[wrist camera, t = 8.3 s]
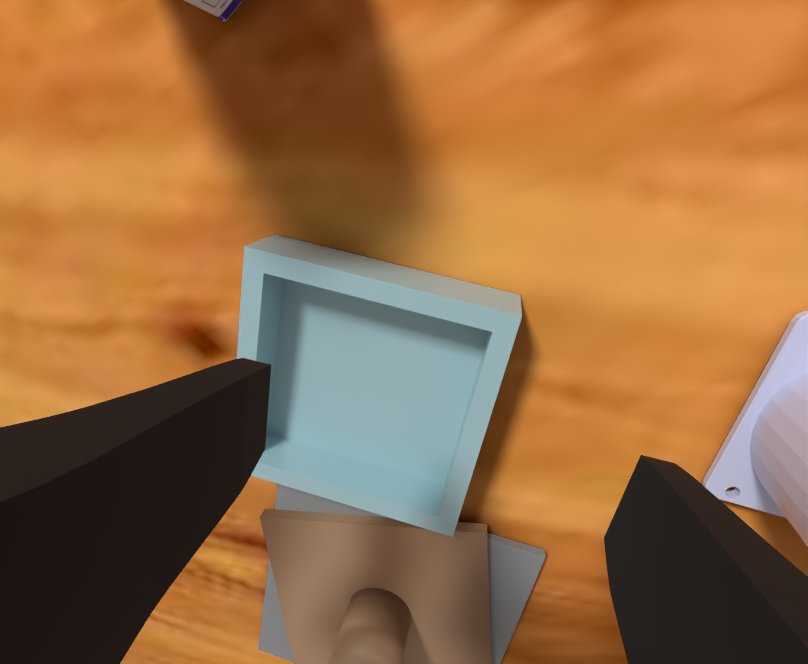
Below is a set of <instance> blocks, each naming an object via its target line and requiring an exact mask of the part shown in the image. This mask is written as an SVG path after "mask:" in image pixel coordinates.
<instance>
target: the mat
mask: <svg viewBox="0 0 808 664" xmlns="http://www.w3.org/2000/svg"><path fill="white" fill-rule="evenodd" d="M275 509H278V510H292V511H307V512H321V513H336V514H351V515H365V516H380V517H385V516H382V515H379V514H376V513H372V512H369V511H366V510H362V509H359V508H356V507H353V506H349V505H346V504H343V503H340V502H336V501H333V500H330V499H326V498H323V497H320V496H317V495H313V494H310V493H307V492H304V491H300V490H297V489H294V488H290V487H287V486H284V485H281V484H278V487H277V496H276V504H275ZM487 533H488V532H487ZM545 558H546V552H545V550H544V549H541V548H537V547H534V546H531V545H527V544H524V543H521V542H517V541H514V540H511V539H507V538H504V537H501V536H498V535H494V534H491V533H488V559H489V586H490V613H491V639H492V664H501V661H502V659H503V657H504V654H505V652H506V649H507V647H508V645H509V642H510V640H511V638H512V635H513V633H514V631H515V628H516V626H517V624H518V621H519V619H520V617H521V614H522V612H523V609H524V607H525V605H526V602H527V600H528V598H529V595H530V593H531V591H532V588H533V586H534V584H535V581H536V579H537V577H538V574H539V572H540V569H541V567H542V565H543V562H544V560H545ZM258 650H261V651H264V652H267V653H270V654H273V655H275V656H278V657H281V658H284V659H287V660H290V661H293V662H294V660H293V655H292V651H291V647H290V643H289V638H288V634H287V630H286V626H285V621H284V617H283V613H282V609H281V604H280V600H279V596H278V592H277V587H276V583H275V579H274V575H273V571H272V566H271V562H270V558H269V563H268V572H267V580H266V588H265V597H264V605H263V614H262V622H261V630H260V639H259V647H258Z"/></svg>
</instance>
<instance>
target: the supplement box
mask: <svg viewBox="0 0 808 664" xmlns="http://www.w3.org/2000/svg"><path fill="white" fill-rule="evenodd" d="M184 1H186V2H188V3H190V4H192V5H194V6H196V7H198V8H200V9H202V10H204V11H206V12H208V13H210V14H212V15H214V16H216V17H218V18H219V19H221V20H222V21H224V22H225V21H227V20H228V19H229V17H230V16H231V15H232V14H233V13H234V12H235V10H236V9H237V8H238V6H239V5H240V4H241V3H242V1H243V0H184Z"/></svg>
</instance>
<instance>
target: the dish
mask: <svg viewBox="0 0 808 664" xmlns="http://www.w3.org/2000/svg"><path fill="white" fill-rule="evenodd" d="M521 319H522V308H521V296H520V295H518V294H514V293H510V292H506V291H502V290H498V289H494V288H490V287H486V286H482V285H478V284H474V283H470V282H466V281H462V280H458V279H454V278H450V277H446V276H442V275H438V274H434V273H430V272H426V271H422V270H418V269H413V268H409V267H405V266H401V265H397V264H393V263H389V262H385V261H381V260H377V259H373V258H369V257H365V256H361V255H357V254H353V253H349V252H345V251H341V250H337V249H333V248H329V247H325V246H321V245H317V244H313V243H309V242H305V241H300V240H296V239H292V238H288V237H284V236H280V235H276V234H274V235H272V236H269V237H267V238H264V239H262V240H259V241H257V242H254V243H252V244H249V245H247V246H244V260H243V275H242V289H241V304H240V319H239V333H238V348H237V359H239V358H246V359H250V360H254V361H258V362H262V363H267V364H271V377H270V391H269V404H268V418H267V431H266V445H265V450H264V452H263V454H262V456H261V458H260V459H259V461H258V463H257V465H256V467H255V469H254V470H253V472H252V474H251V476H254V477H258V478H261V479H264V480H268V481H271V482H274V483H277V484H281V485H284V486H287V487H290V488H294V489H297V490H300V491H304V492H307V493H310V494H313V495H317V496H320V497H323V498H326V499H330V500H333V501H336V502H340V503H343V504H346V505H349V506H353V507H356V508H359V509H362V510H366V511H369V512H372V513H376V514H379V515H382V516H385V517H389V518H392V519H395V520H399V521H402V522H405V523H408V524H412V525H415V526H418V527H421V528H425V529H428V530H431V531H435V532H438V533H441V534H444V535H448V536H451V537H453V534H454V531H455V528H456V525H457V522H458V519H459V515H460V512H461V509H462V506H463V503H464V499H465V496H466V493H467V490H468V487H469V484H470V480H471V477H472V474H473V471H474V468H475V465H476V461H477V458H478V455H479V452H480V449H481V445H482V442H483V439H484V436H485V433H486V430H487V426H488V423H489V420H490V417H491V414H492V411H493V407H494V404H495V401H496V398H497V395H498V392H499V388H500V385H501V382H502V379H503V376H504V372H505V369H506V366H507V363H508V360H509V357H510V353H511V350H512V347H513V344H514V341H515V338H516V334H517V331H518V328H519V325H520V322H521Z"/></svg>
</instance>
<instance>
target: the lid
mask: <svg viewBox="0 0 808 664" xmlns="http://www.w3.org/2000/svg"><path fill="white" fill-rule="evenodd" d="M260 520H261V524H262V528H263V532H264V537H265V541H266V545H267V549H268V554H269V558H270V562H271V566H272V571H273V575H274V579H275V583H276V587H277V592H278V596H279V600H280V604H281V609H282V613H283V617H284V621H285V626H286V630H287V634H288V638H289V643H290V647H291V651H292V655H293V660H294V664H492V639H491V613H490V586H489V559H488V533H487V524H482V523H467V522H457V525H456V528H455V531H454V534H453V537H451V536H448V535H444V534H441V533H438V532H435V531H431V530H428V529H425V528H421V527H418V526H415V525H412V524H408V523H405V522H402V521H399V520H395V519H392V518H389V517H380V516H365V515H351V514H336V513H321V512H307V511H292V510H278V509H265V510H264V512H263V513H262V515H261V516H260Z"/></svg>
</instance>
